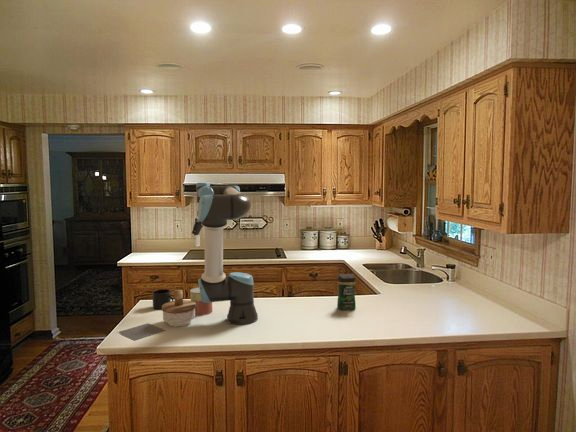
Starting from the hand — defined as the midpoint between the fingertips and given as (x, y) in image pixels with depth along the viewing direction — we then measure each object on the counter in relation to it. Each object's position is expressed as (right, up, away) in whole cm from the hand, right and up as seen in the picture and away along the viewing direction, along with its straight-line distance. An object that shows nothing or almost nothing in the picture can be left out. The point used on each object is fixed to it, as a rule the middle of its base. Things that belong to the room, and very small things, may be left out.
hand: (205, 247), depth 236 cm
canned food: (+1, -33, -15) cm, 37 cm away
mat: (-21, -36, -43) cm, 60 cm away
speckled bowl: (-6, -35, -32) cm, 48 cm away
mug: (-22, -33, -6) cm, 40 cm away
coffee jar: (+78, -32, -13) cm, 85 cm away
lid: (-6, -27, -33) cm, 43 cm away
